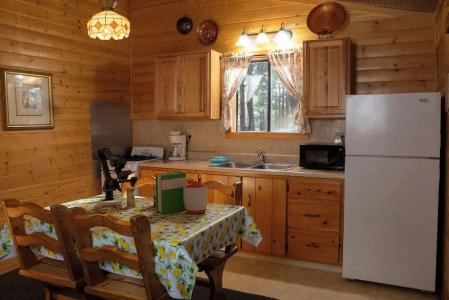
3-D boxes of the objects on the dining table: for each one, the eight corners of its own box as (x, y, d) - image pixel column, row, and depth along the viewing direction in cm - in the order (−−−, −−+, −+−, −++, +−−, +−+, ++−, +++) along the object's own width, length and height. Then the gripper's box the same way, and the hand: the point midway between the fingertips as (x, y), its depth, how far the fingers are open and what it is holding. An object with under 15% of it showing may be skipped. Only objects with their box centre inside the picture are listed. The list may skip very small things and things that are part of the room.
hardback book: (162, 214, 237) (161, 175, 235) (156, 212, 242) (155, 174, 241) (186, 209, 247) (185, 172, 246) (180, 207, 253) (179, 171, 251)
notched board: (97, 205, 264) (97, 202, 264) (121, 203, 268) (121, 201, 268) (95, 210, 249) (95, 207, 249) (121, 208, 253) (121, 206, 253)
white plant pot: (215, 211, 242) (215, 179, 240) (193, 216, 230) (192, 183, 229) (200, 207, 253) (199, 177, 252) (178, 212, 242) (177, 180, 240)
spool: (126, 206, 260) (125, 187, 259) (135, 205, 261) (135, 186, 260) (126, 208, 253) (125, 189, 252) (136, 207, 255) (135, 188, 254)
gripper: (110, 167, 256) (118, 185, 248) (136, 164, 268) (144, 182, 260) (106, 177, 262) (113, 196, 255) (131, 174, 274) (139, 192, 267)
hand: (128, 191), depth 259 cm, fingers open, 9 cm apart
